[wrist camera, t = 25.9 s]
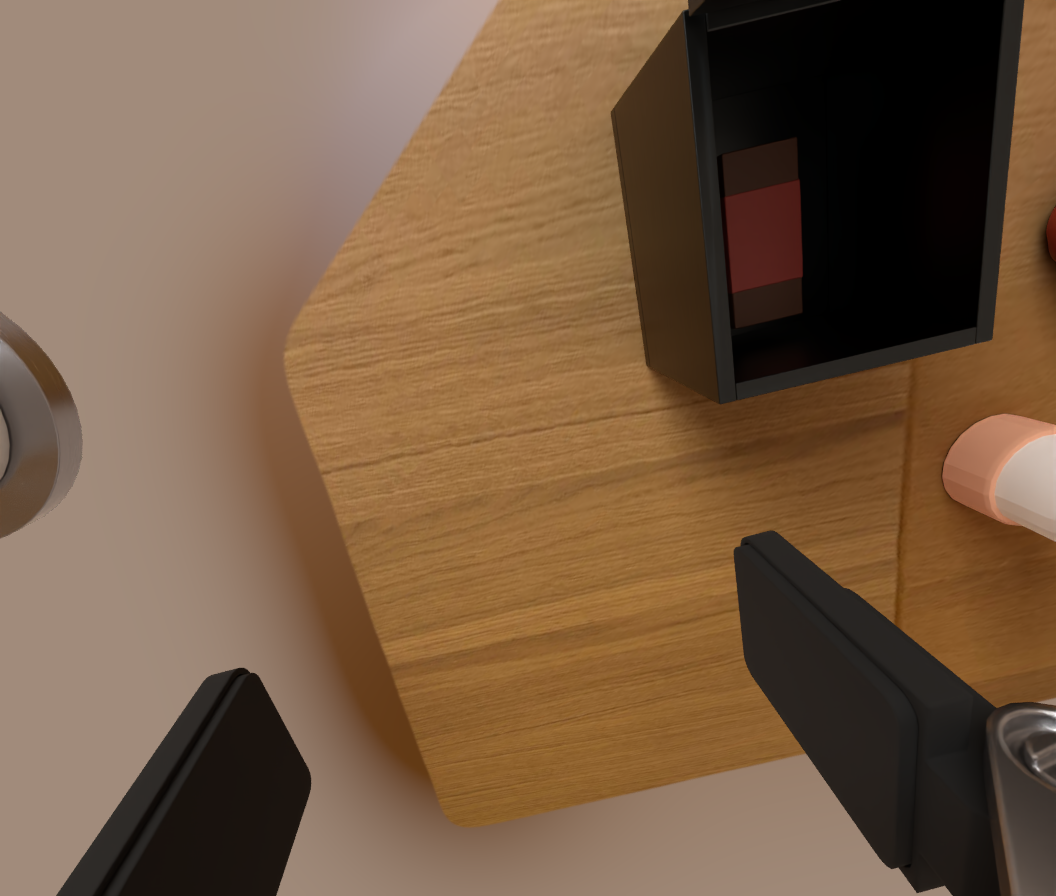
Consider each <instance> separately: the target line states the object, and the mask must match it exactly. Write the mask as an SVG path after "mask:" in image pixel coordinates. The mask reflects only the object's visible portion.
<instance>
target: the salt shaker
mask: <svg viewBox="0 0 1056 896" xmlns="http://www.w3.org/2000/svg"><path fill="white" fill-rule="evenodd" d="M942 478H943V482H944V487H945V490H946V491H947V492H948V494H949V495H950V496H951V498H952V499H954V500H956V501H958V502H960V503H961V504H963V505H965V506H968V507H970V508H972V509H974V510H976V511H978V512H980V513H983V514H985V515H987V516H989V517H991V518H993V519H995V520H998V521H1000V522H1002V523H1004V524H1009V525H1017V526H1024V527H1026V528H1028V529H1030V530H1032V531H1034V532H1037V533H1039V534H1041V535H1043V536H1045V537H1047V538H1049V539H1051V540H1053V541H1055V542H1056V425H1054V424H1050V423H1046V422H1042V421H1038V420H1034V419H1030V418H1026V417H1022V416H1017V415H1011V414H1001V415H995V416H990V417H988V418H985V419H983V420H981V421H979V422H977V423H975V424H974V425H972V426H971V427H970V428H969V429H967V430H966V431H965V432H964V433H962V434H961V435H960V437H959V438H958V439H957V440H956V442H955V443H954V444H953V446H952V447H951V448H950V450H949V453H948V455H947V457H946V459H945V462H944V467H943V474H942Z"/></svg>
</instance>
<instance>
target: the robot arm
mask: <svg viewBox="0 0 1056 896" xmlns="http://www.w3.org/2000/svg"><path fill="white" fill-rule="evenodd" d="M9 448H10V443H9V436H8V430H7V426H6V423H5V420H4V417H3V415H2V412H1V409H0V480H1V478H2V477H3V475H4V472H5V469H6V467H7V464H8V461H9ZM734 563H735V572H736V582H737V592H738V602H739V611H740V621H741V631H742V641H743V650H744V658H745V661H746V664H747V667H748V669H749V671H750V673H751V675H752V677H753V678H754V680H755V681H756V682H757V684H758V685H759V687H760V688H761V690H762V691H763V692H764V694H765V695H766V697H767V698H768V700H769V701H770V702H771V704H772V705H773V707H774V708H775V710H776V711H777V712H778V714H779V715H780V717H781V718H782V720H783V721H784V722H785V724H786V725H787V727H788V728H789V730H790V731H791V732H792V734H793V735H794V737H795V738H796V740H797V741H798V742H799V744H800V745H801V747H802V748H803V750H804V751H805V752H806V754H807V755H808V757H809V758H810V760H811V761H812V762H813V764H814V765H815V767H816V768H817V770H818V771H819V773H820V774H821V775H822V777H823V778H824V780H825V781H826V783H827V784H828V785H829V787H830V788H831V790H832V791H833V793H834V794H835V795H836V797H837V798H838V800H839V801H840V803H841V804H842V805H843V807H844V808H845V810H846V811H847V813H848V814H849V815H850V817H851V818H852V820H853V821H854V822H855V824H856V825H857V827H858V828H859V830H860V831H861V833H862V834H863V835H864V837H865V838H866V840H867V841H868V843H869V844H870V846H871V847H872V848H873V850H874V851H875V853H876V854H877V855H878V857H879V858H880V859H881V860H882V862H883V863H884V864H885V865H886V866H888V867H889V868H891V869H894V868H898V867H899V869H900V870H901V871H902V873H903V874H904V876H905V877H906V878H907V880H908V881H909V883H910V884H911V885H912V887H913V888H914V890H915V891H916V892H917V893H919V892H923V891H927V890H930V889H934V888H937V887H941V886H946V888H947V889H948V890H949V892H950V893H951V894H952V895H953V896H1056V706H1054V705H1047V704H1041V703H1034V702H1023V703H1010V704H1007V705H1005V706H1002V707H999V708H996V707H994V706H993V705H992V704H991V703H989V702H988V701H987V700H986V699H985V698H983V697H982V696H981V695H980V694H978V693H977V692H976V691H975V690H974V689H972V688H971V687H970V686H969V685H967V684H966V683H965V682H964V681H963V680H961V679H960V678H959V677H958V676H957V675H955V674H954V673H953V672H952V671H950V670H949V669H948V668H947V667H946V666H944V665H943V664H942V663H941V662H939V661H938V660H937V659H936V658H935V657H933V656H932V655H931V654H930V653H928V652H927V651H926V650H925V649H924V648H922V647H921V646H920V645H919V644H917V643H916V642H915V641H914V640H913V639H911V638H910V637H909V636H908V635H906V634H905V633H904V632H903V631H902V630H900V629H899V628H898V627H897V626H895V625H894V624H893V623H892V622H891V621H889V620H888V619H887V618H886V617H885V616H883V615H882V614H881V613H880V612H878V611H877V610H876V609H875V608H874V607H872V606H871V605H870V604H869V603H867V602H866V601H865V600H864V599H863V598H861V597H860V596H859V595H858V594H856V593H855V592H853V591H851V590H850V589H846V588H843V587H842V586H841V585H839V584H838V583H837V582H836V581H835V580H833V579H832V578H831V577H830V576H829V575H827V574H826V573H825V572H824V571H823V570H821V569H820V568H819V567H818V566H817V565H815V564H814V563H813V562H812V561H811V560H809V559H808V558H807V557H806V556H805V555H803V554H802V553H801V552H800V551H799V550H797V549H796V548H795V547H794V546H793V545H791V544H790V543H789V542H788V541H787V540H785V539H784V538H783V537H782V536H781V535H779V534H778V533H777V532H775V531H767V532H763V533H759V534H755V535H751V536H747V537H744V538H743V539H742V540H741V546H740V547H736V548H735V549H734ZM310 790H311V775H310V772H309V769H308V767H307V765H306V763H305V762H304V760H303V758H302V756H301V754H300V752H299V750H298V748H297V747H296V745H295V744H294V741H293V739H292V737H291V736H290V734H289V732H288V730H287V728H286V726H285V724H284V722H283V721H282V719H281V717H280V715H279V713H278V711H277V709H276V708H275V706H274V704H273V702H272V700H271V698H270V697H269V694H268V693H267V691H266V689H265V687H264V685H263V683H262V682H261V680H260V678H259V676H258V675H257V674H255V673H250V672H249V671H248V670H247V669H245V668H237V669H233V670H229V671H225V672H222V673H218V674H214V675H211V676H209V677H207V678H206V679H205V680H204V682H203V683H202V684H201V686H200V687H199V689H198V690H197V692H196V693H195V694H194V696H193V697H192V699H191V700H190V702H189V703H188V705H187V706H186V708H185V709H184V711H183V712H182V714H181V715H180V716H179V718H178V719H177V721H176V722H175V724H174V725H173V727H172V728H171V730H170V731H169V732H168V734H167V735H166V737H165V738H164V740H163V741H162V742H161V744H160V746H159V747H158V748H157V750H156V751H155V753H154V754H153V756H152V757H151V759H150V760H149V761H148V763H147V764H146V766H145V767H144V769H143V770H142V772H141V773H140V775H139V776H138V777H137V779H136V781H135V782H134V783H133V785H132V786H131V788H130V789H129V791H128V792H127V793H126V795H125V796H124V798H123V799H122V801H121V802H120V804H119V805H118V807H117V808H116V810H115V811H114V812H113V814H112V815H111V817H110V818H109V820H108V821H107V823H106V824H105V825H104V827H103V828H102V830H101V831H100V833H99V834H98V836H97V837H96V839H95V840H94V842H93V843H92V845H91V846H90V847H89V849H88V850H87V852H86V853H85V855H84V856H83V857H82V859H81V860H80V862H79V863H78V865H77V866H76V868H75V869H74V871H73V872H72V873H71V875H70V876H69V878H68V879H67V881H66V882H65V884H64V885H63V887H62V888H61V890H60V891H59V892H58V894H57V895H56V896H276V895H277V891H278V888H279V885H280V882H281V879H282V876H283V873H284V870H285V867H286V864H287V861H288V858H289V855H290V852H291V849H292V846H293V843H294V840H295V836H296V833H297V830H298V827H299V824H300V821H301V818H302V815H303V812H304V809H305V806H306V803H307V800H308V797H309V794H310Z"/></svg>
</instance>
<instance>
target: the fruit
mask: <svg viewBox="0 0 1056 896" xmlns="http://www.w3.org/2000/svg"><path fill="white" fill-rule="evenodd" d="M1046 235H1047V239H1048V248H1049V252H1050V256H1051V258H1052V259H1053V260H1054V261H1056V206H1055V207H1054V209H1053V211H1052V213H1051V215H1050V218H1049V221H1048V224H1047V230H1046Z"/></svg>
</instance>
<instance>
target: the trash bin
mask: <svg viewBox="0 0 1056 896" xmlns="http://www.w3.org/2000/svg"><path fill="white" fill-rule="evenodd" d="M1023 10H1024V0H759V1H755V2H750V3H746V4H742V5H738V6H733V7H729V8H725V9H721V10H717V11H712V12H708V13H704V14H700V15H695V16H689V9H688V10H684V11H682V13H681V14H680V16H679V17H678V18H677V20H676V21H675V23H674V24H673V25H672V27H671V28H670V30H669V31H668V32H667V34H666V35H665V37H664V38H663V39H662V41H661V42H660V44H659V45H658V46H657V48H656V49H655V51H654V52H653V53H652V55H651V56H650V58H649V59H648V60H647V62H646V63H645V65H644V66H643V67H642V69H641V70H640V72H639V73H638V74H637V76H636V77H635V79H634V80H633V81H632V83H631V84H630V86H629V87H628V88H627V90H626V91H625V93H624V94H623V95H622V97H621V98H620V100H619V101H618V102H617V104H616V105H615V107H614V108H613V109H612V111H611V117H612V124H613V131H614V138H615V145H616V152H617V159H618V166H619V173H620V181H621V188H622V195H623V202H624V209H625V216H626V223H627V230H628V237H629V244H630V251H631V258H632V265H633V273H634V280H635V287H636V294H637V301H638V308H639V315H640V322H641V329H642V336H643V343H644V350H645V357H646V364H647V366H648V367H650V368H652V369H654V370H656V371H658V372H659V373H661V374H663V375H665V376H667V377H669V378H671V379H673V380H675V381H677V382H678V383H680V384H682V385H684V386H686V387H688V388H690V389H692V390H694V391H695V392H697V393H699V394H701V395H703V396H705V397H707V398H709V399H711V400H713V401H714V402H716V403H718V404H724V403H728V402H732V401H736V400H741V399H745V398H749V397H754V396H758V395H762V394H766V393H770V392H775V391H779V390H783V389H787V388H792V387H796V386H800V385H804V384H808V383H813V382H817V381H821V380H825V379H830V378H834V377H838V376H842V375H847V374H851V373H855V372H859V371H863V370H868V369H872V368H876V367H880V366H885V365H889V364H893V363H897V362H902V361H906V360H910V359H914V358H918V357H923V356H927V355H931V354H935V353H940V352H944V351H948V350H952V349H956V348H961V347H965V346H969V345H973V344H977V343H981V342H986V341H990V340H992V338H993V327H994V317H995V306H996V295H997V285H998V274H999V264H1000V253H1001V243H1002V232H1003V221H1004V211H1005V200H1006V190H1007V179H1008V169H1009V158H1010V147H1011V137H1012V126H1013V116H1014V105H1015V95H1016V84H1017V73H1018V63H1019V52H1020V42H1021V31H1022V21H1023ZM791 137H797V149H798V179H800V196H801V227H802V258H803V277H802V301H803V313H802V314H799V315H794V316H790V317H786V318H782V319H777V320H773V321H769V322H765V323H761V324H756V325H752V326H748V327H744V328H739V329H732V328H731V327H730V315H729V302H728V290H727V278H726V265H725V253H724V241H723V229H722V216H721V204H720V192H719V180H718V167H717V156H719V155H721V154H723V153H728V152H732V151H736V150H740V149H744V148H749V147H753V146H757V145H761V144H766V143H770V142H774V141H778V140H783V139H787V138H791Z"/></svg>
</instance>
